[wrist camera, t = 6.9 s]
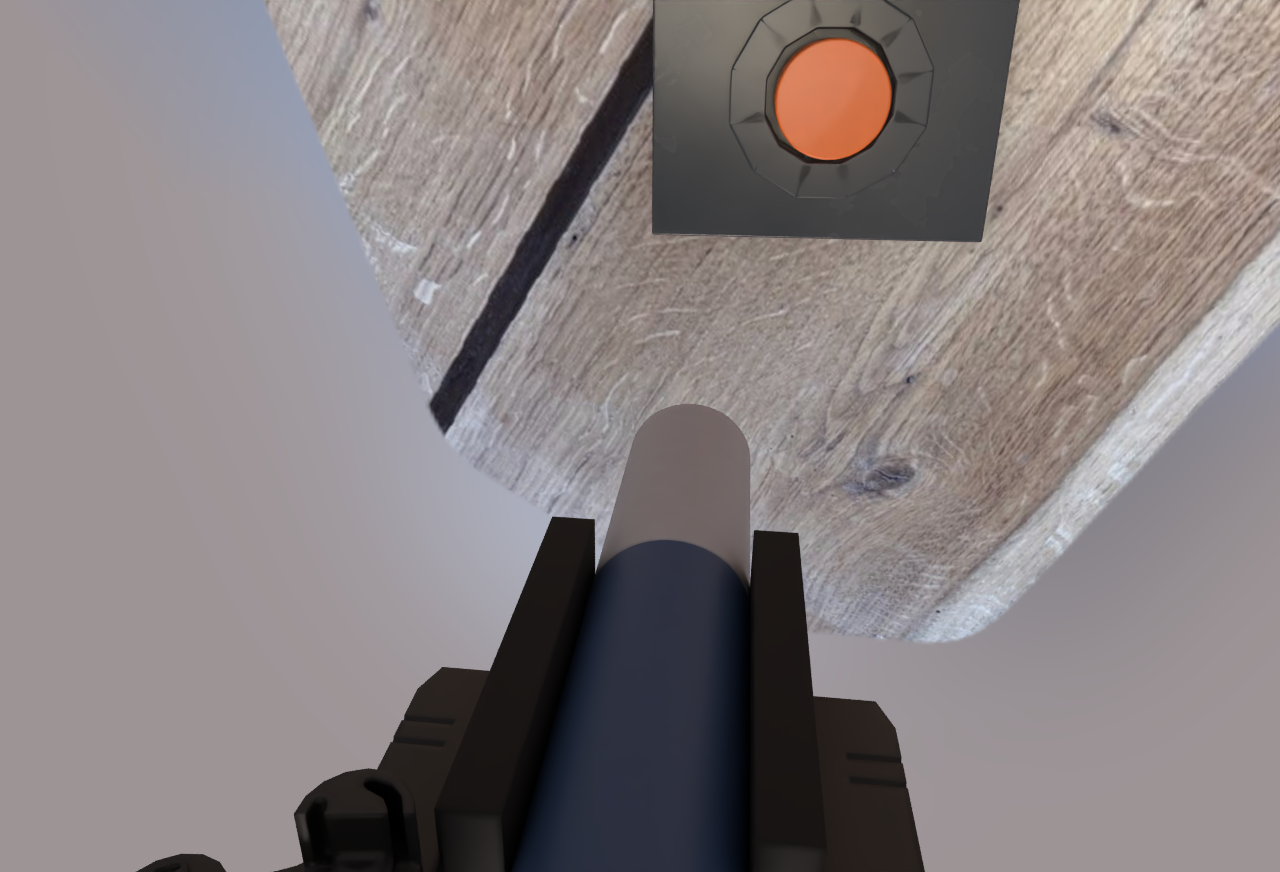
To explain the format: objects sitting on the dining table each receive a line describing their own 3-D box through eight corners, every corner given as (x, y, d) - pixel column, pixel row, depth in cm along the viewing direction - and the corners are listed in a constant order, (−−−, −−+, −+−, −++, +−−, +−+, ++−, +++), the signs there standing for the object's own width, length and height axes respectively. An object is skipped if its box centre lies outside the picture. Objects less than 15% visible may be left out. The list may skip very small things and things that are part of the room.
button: (770, 152, 31) (771, 159, 29) (777, 37, 29) (778, 38, 28) (878, 154, 30) (884, 161, 29) (890, 37, 29) (898, 37, 27)
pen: (630, 506, 22) (275, 1926, 6) (631, 399, 21) (183, 1800, 4) (746, 513, 21) (732, 2031, 5) (753, 406, 20) (768, 1928, 4)
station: (657, 223, 36) (646, 245, 32) (659, -64, 31) (647, -76, 28) (968, 230, 34) (994, 253, 31) (1013, -68, 30) (1049, -81, 27)
